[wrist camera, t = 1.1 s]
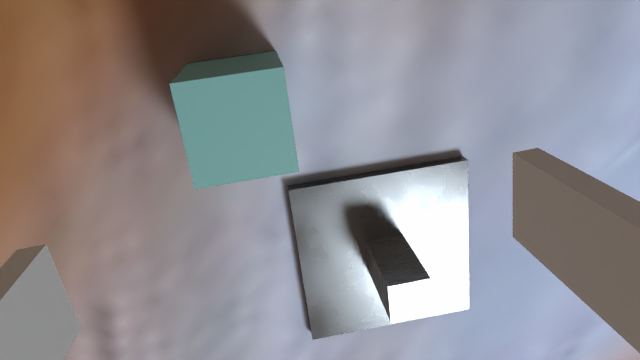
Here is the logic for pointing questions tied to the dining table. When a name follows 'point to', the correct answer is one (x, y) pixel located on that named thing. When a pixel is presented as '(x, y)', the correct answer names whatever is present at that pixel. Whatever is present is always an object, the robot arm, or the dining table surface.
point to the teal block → (235, 119)
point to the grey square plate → (383, 245)
